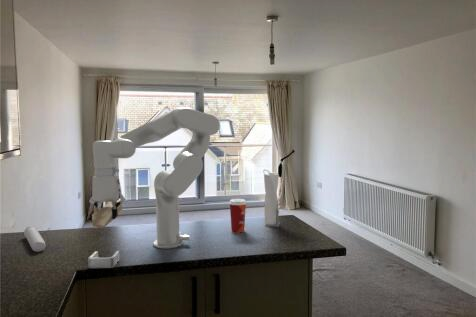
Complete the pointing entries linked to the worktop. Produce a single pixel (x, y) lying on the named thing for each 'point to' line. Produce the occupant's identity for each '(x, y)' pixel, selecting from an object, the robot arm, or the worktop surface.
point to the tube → (34, 239)
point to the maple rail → (104, 215)
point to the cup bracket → (103, 261)
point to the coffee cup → (237, 214)
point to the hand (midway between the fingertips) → (108, 217)
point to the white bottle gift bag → (271, 199)
